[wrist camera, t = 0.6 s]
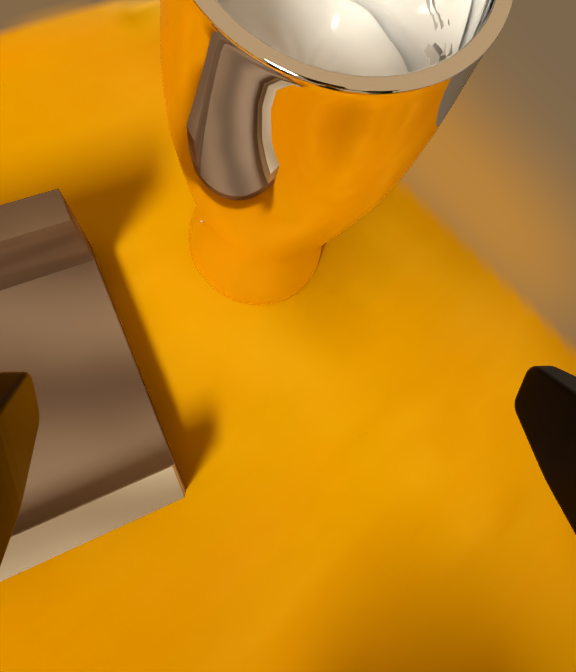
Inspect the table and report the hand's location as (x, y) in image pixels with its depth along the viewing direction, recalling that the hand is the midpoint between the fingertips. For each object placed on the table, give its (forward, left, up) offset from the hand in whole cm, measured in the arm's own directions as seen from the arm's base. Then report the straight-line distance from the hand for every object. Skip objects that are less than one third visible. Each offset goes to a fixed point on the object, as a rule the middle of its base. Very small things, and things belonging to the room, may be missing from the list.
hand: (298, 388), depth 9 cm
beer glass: (+5, -6, -13) cm, 15 cm away
